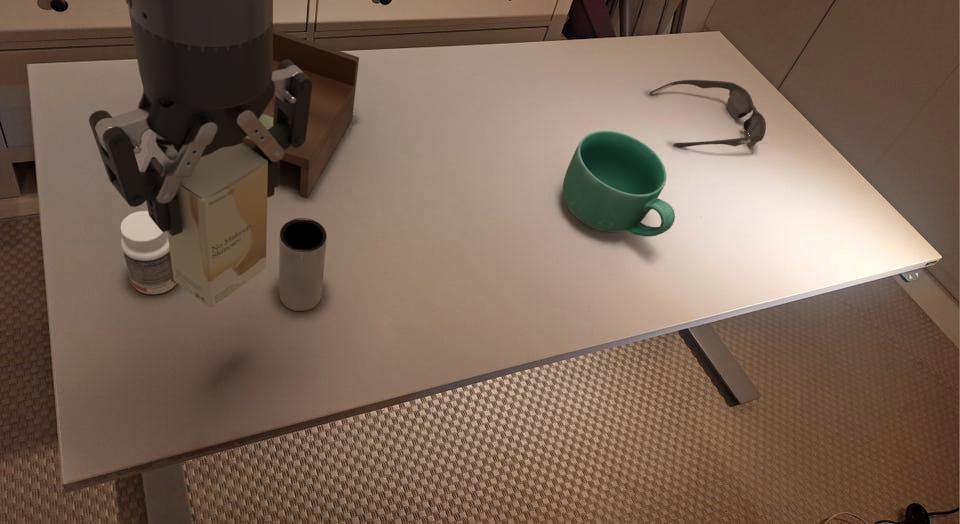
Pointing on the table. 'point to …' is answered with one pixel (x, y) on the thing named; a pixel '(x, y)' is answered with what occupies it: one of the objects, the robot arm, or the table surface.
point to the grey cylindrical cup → (301, 263)
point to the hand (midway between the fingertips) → (218, 207)
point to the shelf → (316, 102)
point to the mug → (616, 184)
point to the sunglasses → (737, 107)
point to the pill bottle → (147, 254)
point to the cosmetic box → (221, 224)
